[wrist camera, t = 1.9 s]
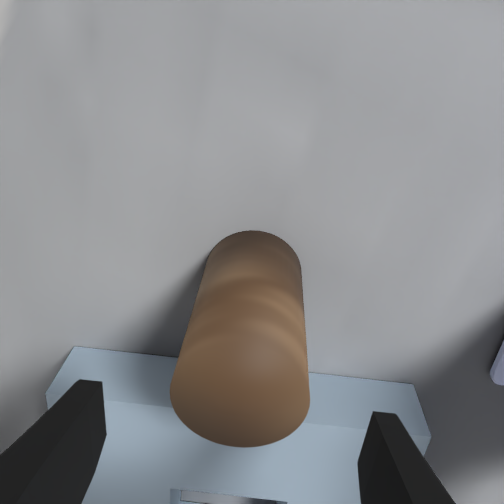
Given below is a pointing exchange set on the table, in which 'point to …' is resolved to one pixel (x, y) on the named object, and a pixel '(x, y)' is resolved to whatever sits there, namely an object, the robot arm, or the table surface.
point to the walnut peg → (245, 346)
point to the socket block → (220, 456)
